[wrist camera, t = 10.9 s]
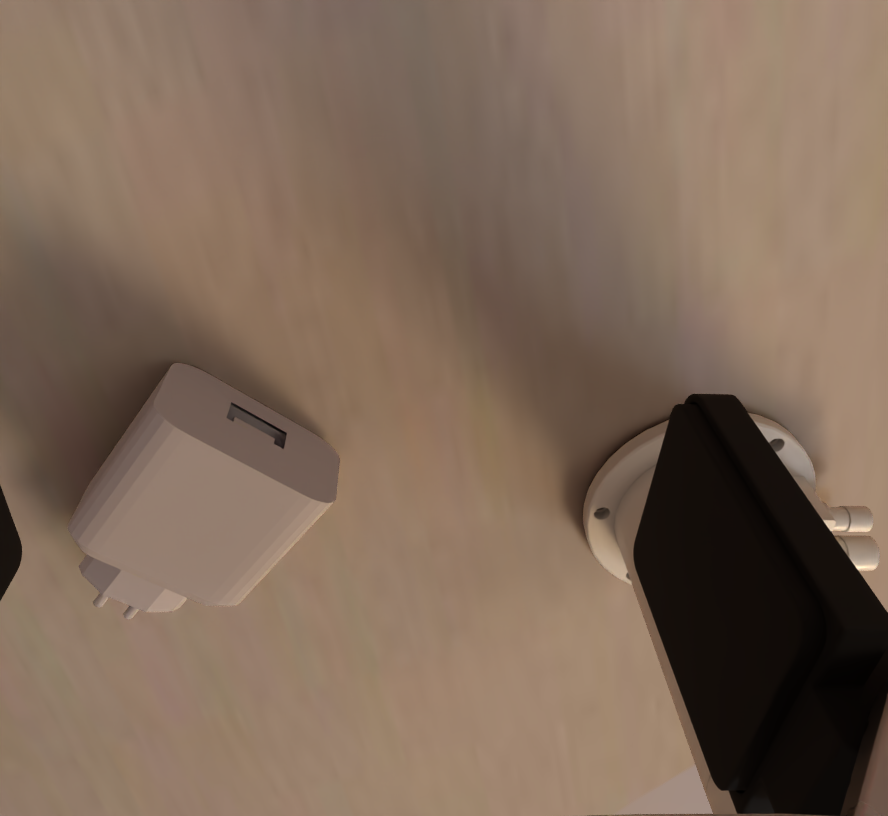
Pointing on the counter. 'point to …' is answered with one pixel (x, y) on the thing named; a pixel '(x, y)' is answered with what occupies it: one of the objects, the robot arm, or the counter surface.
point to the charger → (199, 497)
